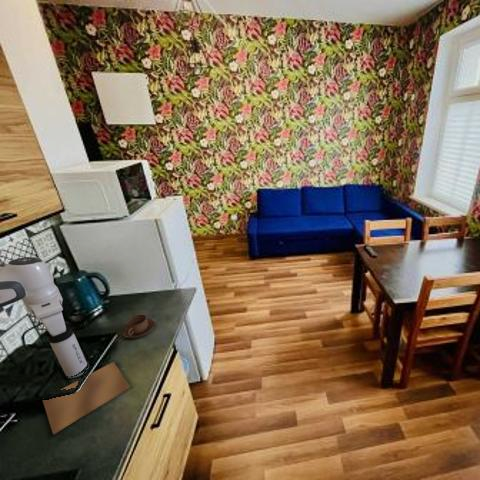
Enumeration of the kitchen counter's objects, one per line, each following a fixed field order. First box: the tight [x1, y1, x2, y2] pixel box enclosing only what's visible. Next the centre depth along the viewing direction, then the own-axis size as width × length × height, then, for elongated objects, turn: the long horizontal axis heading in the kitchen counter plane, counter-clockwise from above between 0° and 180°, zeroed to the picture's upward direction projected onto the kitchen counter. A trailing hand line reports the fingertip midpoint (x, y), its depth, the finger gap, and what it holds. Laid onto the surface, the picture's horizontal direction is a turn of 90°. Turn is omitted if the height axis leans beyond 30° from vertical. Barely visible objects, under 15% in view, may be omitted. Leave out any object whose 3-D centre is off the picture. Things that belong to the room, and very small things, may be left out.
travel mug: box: [44, 324, 89, 380], centre depth 95 cm, size 6×7×20 cm
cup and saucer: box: [122, 314, 155, 339], centre depth 117 cm, size 12×12×6 cm
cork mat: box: [42, 361, 131, 435], centre depth 91 cm, size 20×17×1 cm
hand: (58, 332), depth 97 cm, fingers closed
